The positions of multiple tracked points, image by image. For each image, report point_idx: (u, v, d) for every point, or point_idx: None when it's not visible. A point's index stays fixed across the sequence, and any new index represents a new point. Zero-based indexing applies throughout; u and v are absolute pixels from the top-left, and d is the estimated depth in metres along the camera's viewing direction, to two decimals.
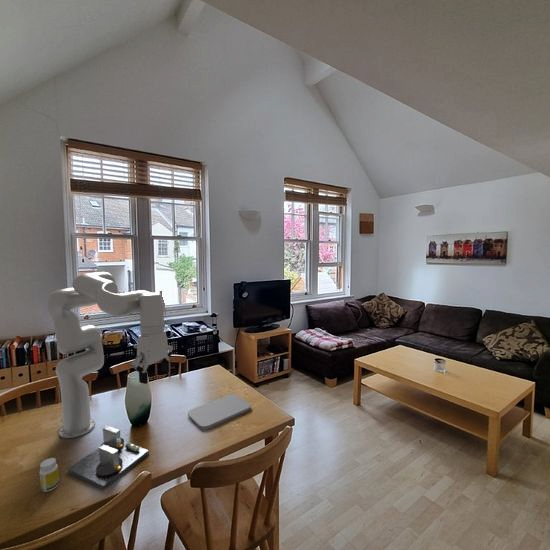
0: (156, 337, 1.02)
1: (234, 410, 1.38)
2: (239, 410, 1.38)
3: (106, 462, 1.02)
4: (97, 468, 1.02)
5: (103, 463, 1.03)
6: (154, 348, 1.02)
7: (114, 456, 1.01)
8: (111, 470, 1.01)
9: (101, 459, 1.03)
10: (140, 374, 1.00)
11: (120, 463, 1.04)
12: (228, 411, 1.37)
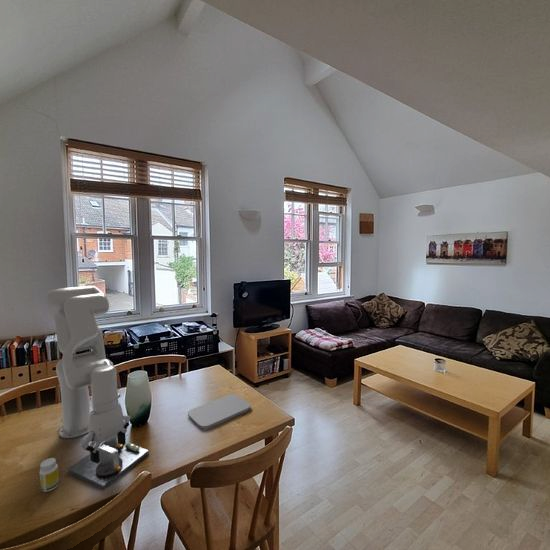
0: (109, 413, 0.99)
1: (234, 410, 1.38)
2: (239, 410, 1.38)
3: (106, 462, 1.02)
4: (97, 468, 1.02)
5: (103, 463, 1.03)
6: (106, 425, 0.98)
7: (114, 456, 1.01)
8: (111, 470, 1.01)
9: (101, 459, 1.03)
10: (91, 454, 0.96)
11: (120, 463, 1.04)
12: (228, 411, 1.37)
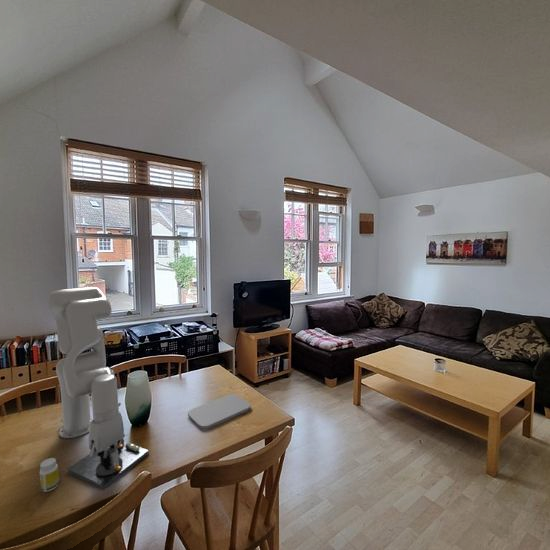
0: (109, 422, 1.00)
1: (234, 410, 1.38)
2: (239, 410, 1.38)
3: None
4: (97, 468, 1.02)
5: None
6: (106, 434, 0.99)
7: (114, 456, 1.01)
8: (111, 470, 1.01)
9: None
10: (102, 459, 1.01)
11: (120, 463, 1.04)
12: (228, 411, 1.37)
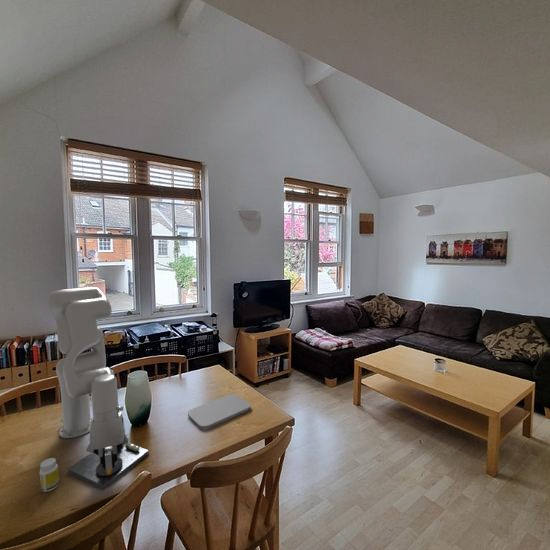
0: (102, 424, 0.99)
1: (234, 410, 1.38)
2: (239, 410, 1.38)
3: None
4: None
5: None
6: (99, 434, 0.99)
7: (106, 459, 0.99)
8: (104, 472, 1.00)
9: None
10: None
11: (116, 468, 1.02)
12: (228, 411, 1.37)
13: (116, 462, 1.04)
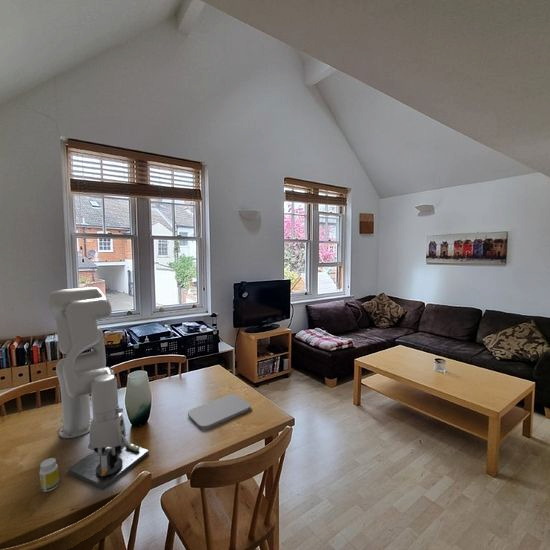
0: (100, 424, 0.99)
1: (234, 410, 1.38)
2: (239, 410, 1.38)
3: None
4: None
5: None
6: (97, 434, 0.99)
7: (102, 460, 0.99)
8: (101, 471, 1.00)
9: None
10: None
11: (112, 470, 1.01)
12: (228, 411, 1.37)
13: (116, 464, 1.04)
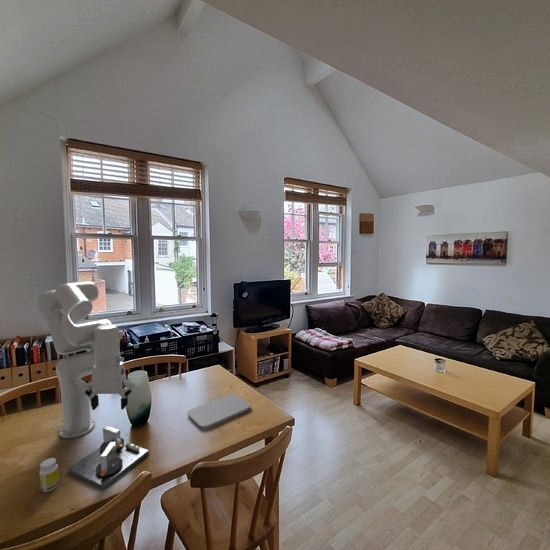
0: (102, 371, 1.02)
1: (234, 410, 1.38)
2: (239, 410, 1.38)
3: None
4: None
5: None
6: (99, 380, 1.02)
7: (102, 460, 0.99)
8: (101, 471, 1.00)
9: None
10: None
11: (112, 470, 1.01)
12: (228, 411, 1.37)
13: (116, 464, 1.04)
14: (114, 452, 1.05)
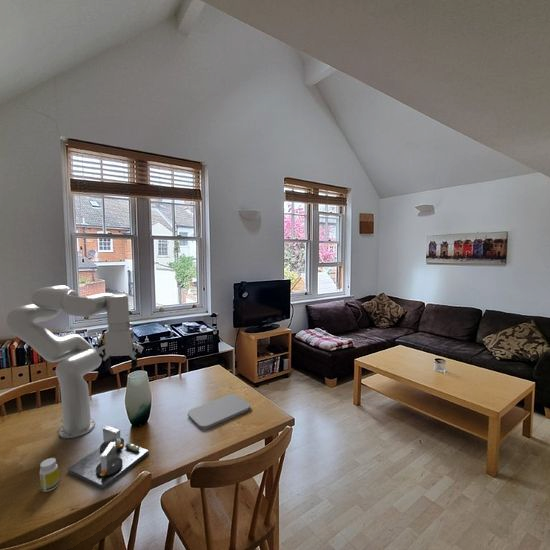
0: (114, 334, 1.16)
1: (234, 410, 1.38)
2: (239, 410, 1.38)
3: None
4: None
5: None
6: (112, 343, 1.16)
7: (102, 460, 0.99)
8: (101, 471, 1.00)
9: None
10: None
11: (112, 470, 1.01)
12: (228, 411, 1.37)
13: (116, 464, 1.04)
14: (114, 452, 1.05)
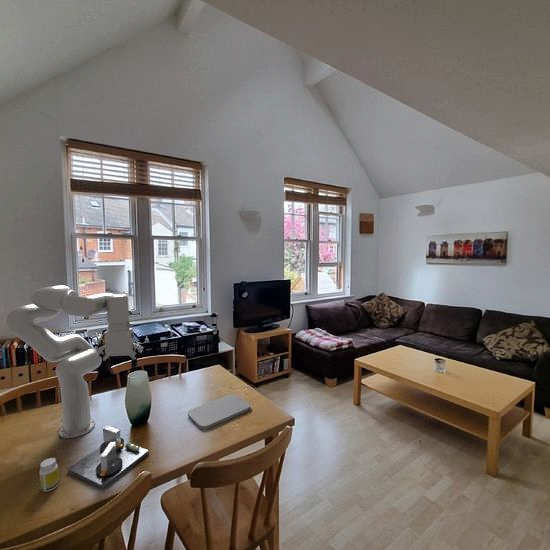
0: (114, 334, 1.16)
1: (234, 410, 1.38)
2: (239, 410, 1.38)
3: None
4: None
5: None
6: (112, 343, 1.16)
7: (102, 460, 0.99)
8: (101, 471, 1.00)
9: None
10: None
11: (112, 470, 1.01)
12: (228, 411, 1.37)
13: (116, 464, 1.04)
14: (114, 452, 1.05)
